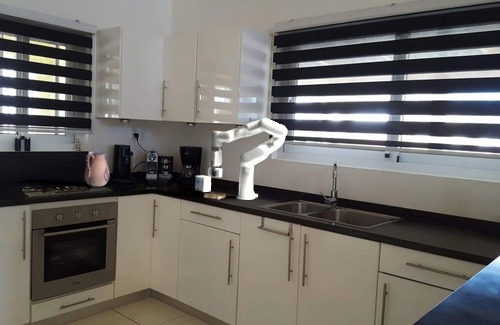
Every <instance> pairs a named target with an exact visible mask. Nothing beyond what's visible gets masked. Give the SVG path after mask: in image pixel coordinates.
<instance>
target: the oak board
mask: <svg viewBox="0 0 500 325" xmlns="http://www.w3.org/2000/svg"><path fill="white" fill-rule="evenodd" d="M226 196H227V195H226V193H221V192H214V191H213V192H212V191H210V193H204V195H203V198H205V199H206V198H207V199H214V200H220V199H224V198H226Z"/></svg>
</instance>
